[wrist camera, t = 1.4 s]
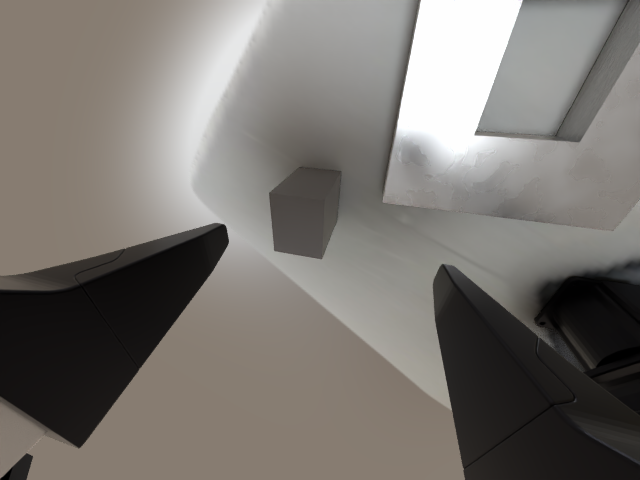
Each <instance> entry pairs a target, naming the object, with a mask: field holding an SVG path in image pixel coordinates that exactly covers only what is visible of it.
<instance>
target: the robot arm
mask: <svg viewBox="0 0 640 480" xmlns="http://www.w3.org/2000/svg"><path fill="white" fill-rule="evenodd" d="M228 243H229V239H228V233H227V228H226V226H225V225H224V224H219V223H214V224H210V225H207V226H203V227H200V228H196V229H193V230H189V231H185V232H182V233H178V234H175V235H171V236H168V237H164V238H161V239H157V240H153V241H150V242H146V243H143V244H139V245H136V246H132V247H128V248H126V249H121V250H118V251H114V252H111V253H107V254H103V255H99V256H96V257H92V258H88V259H84V260H80V261H75V262H71V263H67V264H63V265H59V266H55V267H50V268H46V269H42V270H38V271H34V272H29V273H24V274H18V275H9V276H0V480H26V479H27V475H28V472H29V469H30V465H31V462H32V458H33V456H31V455H29V454H27V452H28V451H29V450H30V449H31V448H32V447H33V446H34V445H35V444H36V443H37V442H38V441H39V440H40V439H41V438H42V437H43V436H44V435H45V436H48V437H51V438H53V439H55V440H58V441H61V442H63V443H66V444H68V445H71V446H73V447H76V448H80V447H81V446H82V445H83V444H84V443H85V442H86V440H87V439H88V438H89V437H90V435H91V434H92V432H93V431H94V430H95V428H96V427H97V425H98V424H99V423H100V422H101V420H102V419H103V418H104V416H105V415H106V414H107V412H108V411H109V410H110V408H111V407H112V405H113V404H114V403H115V402H116V400H117V399H118V397H119V396H120V395H121V394H122V392H123V391H124V390H125V388H126V387H127V385H128V384H129V383H130V382H131V380H132V379H133V377H134V376H135V375H136V373H137V372H138V371H139V369H140V368H141V367H142V365H143V364H144V363H145V361H146V360H147V358H148V357H149V356H150V355H151V353H152V352H153V351H154V349H155V348H156V347H157V345H158V344H159V342H160V341H161V340H162V338H163V337H164V336H165V334H166V333H167V332H168V330H169V329H170V328H171V326H172V325H173V324H174V322H175V321H176V320H177V318H178V317H179V316H180V314H181V313H182V312H183V310H184V309H185V308H186V306H187V305H188V304H189V302H190V301H191V300H192V298H193V297H194V296H195V294H196V293H197V292H198V290H199V289H200V288H201V286H202V285H203V284H204V282H205V281H206V280H207V278H208V277H209V276H210V274H211V273H212V271H213V270H214V268H215V266H216V265H217V263H218V261H219V260H220V258H221V256H222V255H223V253H224V251H225V249H226V248H227V246H228ZM575 282H576V283H575ZM433 295H434V311H435V322H436V328H437V334H438V339H439V344H440V349H441V355H442V360H443V365H444V370H445V376H446V381H447V386H448V391H449V397H450V402H451V407H452V412H453V418H454V423H455V428H456V433H457V439H458V444H459V449H460V454H461V460H462V464H463V468H464V476H465V480H640V286H636V285H630V284H624V283H617V282H611V281H599V280H592V279H586V278H580V277H572V278H569V279H568V280H567V281H566V282H565V283H564V285H563V286H562V287H561V288H560V289H559V291H558V292H557V293H556V294H555V296H554V297H553V298H552V299H551V300H550V302H549V303H548V304H547V305H546V307H545V308H544V309H543V310H542V311H541V313H540V314H539V315H538V316H537V318H536V319H535V323H536V324H537V325H538V326H540V327H545V328H550V329H555V330H556V331H557V333H558V334H559V335H560V337H561V338H562V340H563V341H564V342H565V344H566V345H567V347H568V348H569V349H570V351H571V352H572V354H573V355H574V356H575V358H576V359H577V361H578V362H579V363H580V365H581V366H582V368H583V369H584V370H585V371H584V372H582V371H580V370H579V369H578V368H576V367H575V366H574V365H572V364H571V363H570V362H569V361H567V360H566V359H565V358H564V357H563V356H561V355H560V354H559V353H558V352H556V351H555V350H554V349H553V348H551V347H550V346H549V345H548V344H547V343H546V342H544V341H543V340H542V339H541V338H538V336H537V335H536V334H535V333H534V332H532V331H531V330H530V329H529V328H528V327H526V326H525V325H524V324H523V323H522V322H520V321H519V320H518V319H517V318H516V317H514V316H513V315H512V314H511V313H510V312H508V311H507V310H506V309H505V308H504V307H502V306H501V305H500V304H499V303H498V302H496V301H495V300H494V299H493V298H492V297H490V296H489V295H488V294H487V293H486V292H484V291H483V290H482V289H481V288H480V287H478V286H477V285H476V284H475V283H474V282H472V281H471V280H470V279H469V278H468V277H466V276H465V275H464V274H463V273H462V272H460V271H459V270H458V269H457V268H456V267H454V266H452V265H446V264H442V265H441V266H440V268H439V270H438V272H437V274H436V276H435V279H434V282H433Z"/></svg>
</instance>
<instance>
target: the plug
mask: <svg viewBox="0 0 640 480" xmlns="http://www.w3.org/2000/svg"><path fill="white" fill-rule="evenodd" d="M340 181H341V171H333V170H323V169H313V168H303V167H299V168H298V169H297V170H296V171H295V172H293V173H292V174H291V175H290V176H289V177H287V178H286V179H285V180H284V181H283V182H282V183H280V184H279V185H278V186H277V187H276V188H274V189H273V190H272V191H271V192H270V193H269V196H270V207H271V218H272V229H273V241H274V251H278V252H283V253H289V254H295V255H301V256H306V257H312V258H318V259H322V258H323V255H324V253H325V250H326V247H327V245H328V242H329V240H330V237H331V235H332V232H333V229H334V227H335V224H336V222H337V218H338V205H339V193H340Z"/></svg>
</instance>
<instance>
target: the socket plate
mask: <svg viewBox="0 0 640 480" xmlns="http://www.w3.org/2000/svg"><path fill="white" fill-rule="evenodd" d="M522 1H523V0H419V3H418V8H417V14H416V19H415V24H414V29H413V35H412V40H411V45H410V51H409V56H408V61H407V67H406V72H405V77H404V82H403V88H402V93H401V98H400V104H399V109H398V114H397V119H396V125H395V130H394V135H393V141H392V146H391V151H390V157H389V162H388V167H387V172H386V178H385V183H384V188H383V199H382V203H389V204H397V205H405V206H413V207H422V208H430V209H438V210H446V211H454V212H462V213H470V214H478V215H487V216H495V217H503V218H511V219H519V220H527V221H535V222H544V223H552V224H560V225H568V226H576V227H584V228H592V229H600V230H609V231H614V229H615V228H616V227H617V226H618V225H619V223H620V222H621V221H622V220H623V219H624V217H625V216H626V215H627V214H628V213H629V211H630V210H631V209H632V208H633V207H634V205H635V204H636V203H637V202H638V201H639V199H640V0H629V1H628V3H627V5H626V7H625V8H624V10H623V12H622V14H621V16H620V18H619V20H618V21H617V23H616V25H615V27H614V29H613V31H612V33H611V34H610V36H609V38H608V40H607V42H606V44H605V46H604V47H603V49H602V51H601V53H600V55H599V57H598V59H597V60H596V62H595V64H594V66H593V68H592V70H591V72H590V73H589V75H588V77H587V79H586V81H585V83H584V85H583V86H582V88H581V90H580V92H579V94H578V96H577V97H576V99H575V101H574V103H573V105H572V107H571V109H570V110H569V112H568V114H567V116H566V118H565V120H564V122H563V123H562V125H561V127H560V129H559V131H558V133H557V135H556V136H542V135H527V134H511V133H495V132H479V131H476V128H477V125H478V123H479V120H480V117H481V114H482V112H483V109H484V106H485V103H486V101H487V98H488V95H489V92H490V89H491V87H492V84H493V81H494V78H495V76H496V73H497V70H498V67H499V65H500V62H501V59H502V56H503V54H504V51H505V48H506V45H507V43H508V40H509V37H510V34H511V31H512V29H513V26H514V23H515V20H516V18H517V15H518V12H519V9H520V7H521V4H522Z"/></svg>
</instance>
